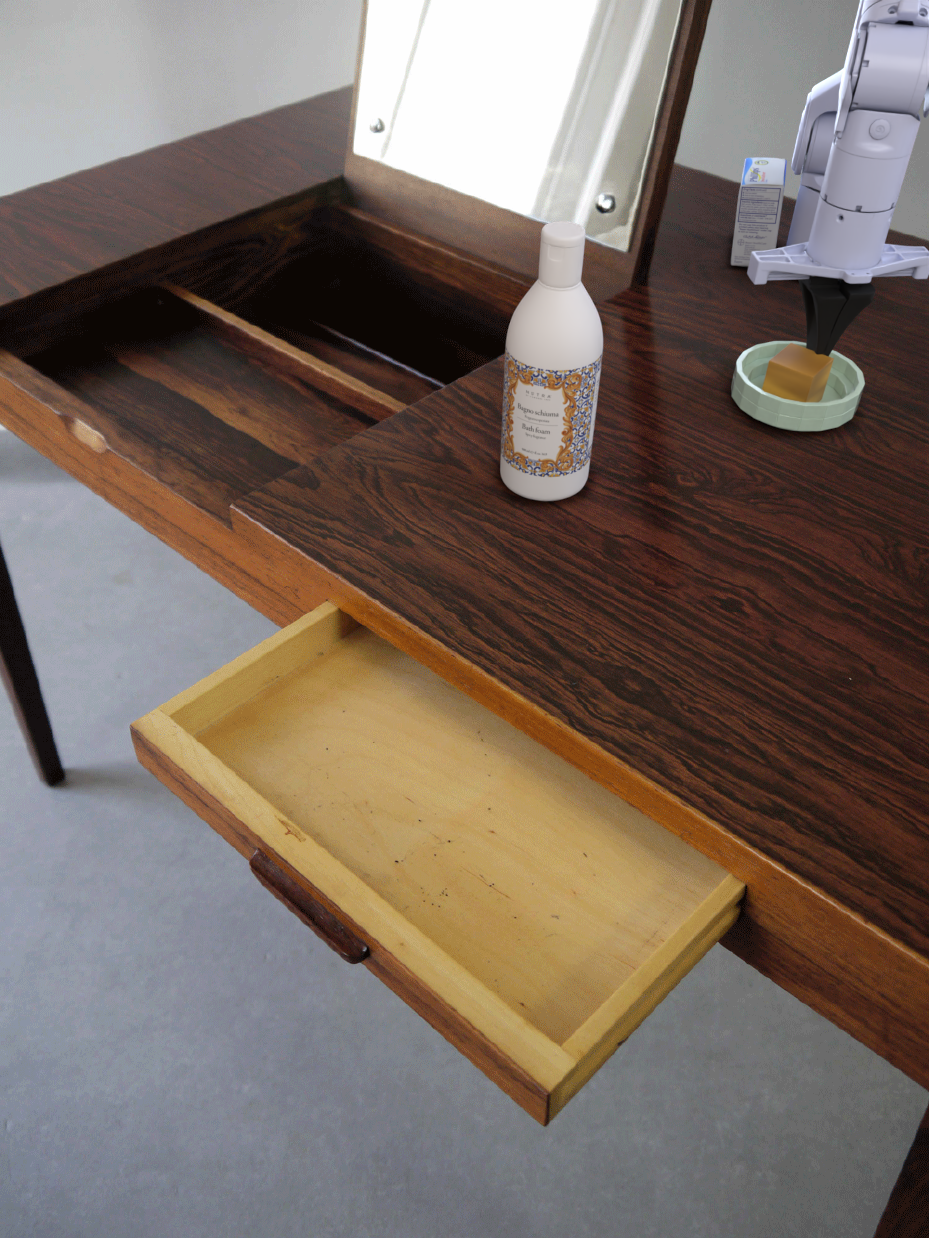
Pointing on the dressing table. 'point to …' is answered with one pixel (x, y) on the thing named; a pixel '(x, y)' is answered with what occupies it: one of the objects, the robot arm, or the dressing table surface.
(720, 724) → the dressing table surface
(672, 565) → the dressing table surface
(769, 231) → the medicine box
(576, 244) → the bath foam
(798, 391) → the block
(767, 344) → the bowl
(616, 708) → the dressing table surface
